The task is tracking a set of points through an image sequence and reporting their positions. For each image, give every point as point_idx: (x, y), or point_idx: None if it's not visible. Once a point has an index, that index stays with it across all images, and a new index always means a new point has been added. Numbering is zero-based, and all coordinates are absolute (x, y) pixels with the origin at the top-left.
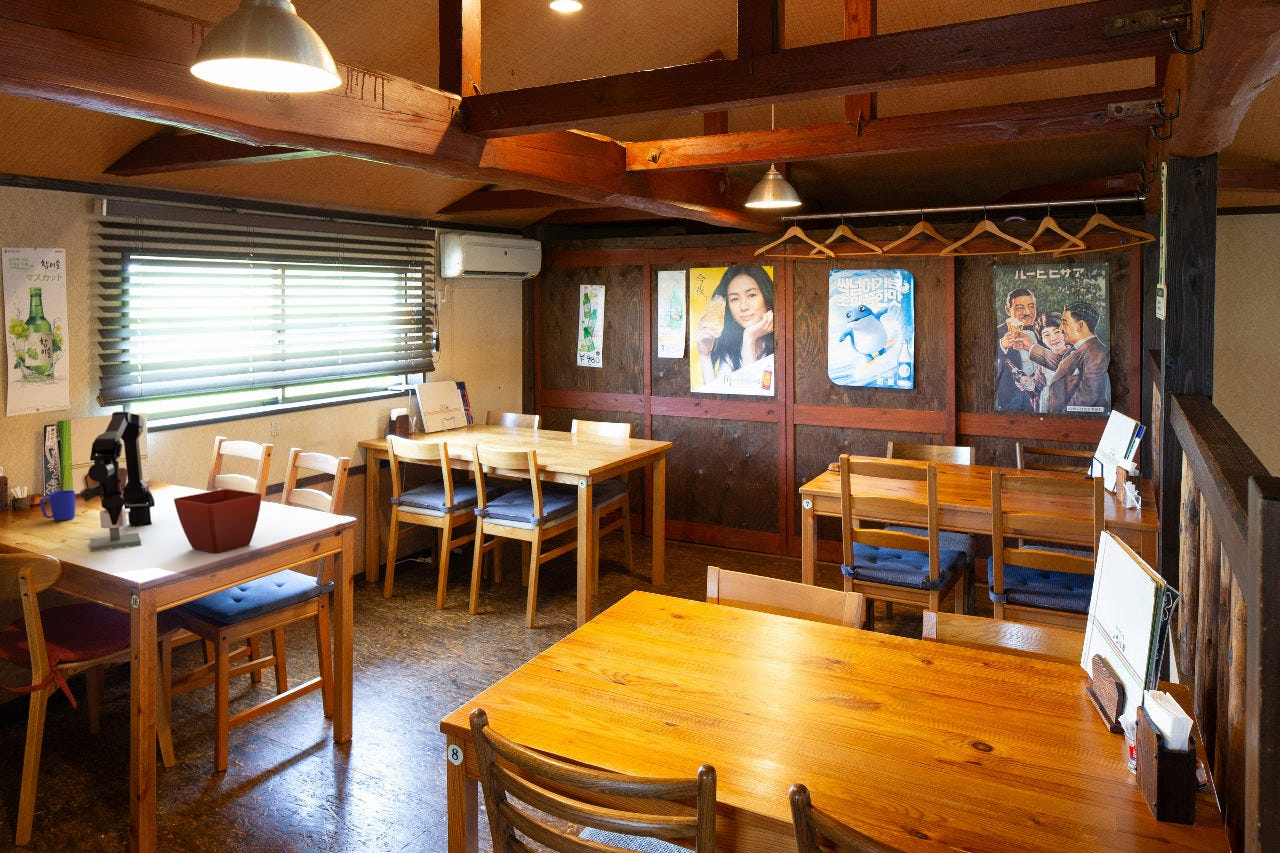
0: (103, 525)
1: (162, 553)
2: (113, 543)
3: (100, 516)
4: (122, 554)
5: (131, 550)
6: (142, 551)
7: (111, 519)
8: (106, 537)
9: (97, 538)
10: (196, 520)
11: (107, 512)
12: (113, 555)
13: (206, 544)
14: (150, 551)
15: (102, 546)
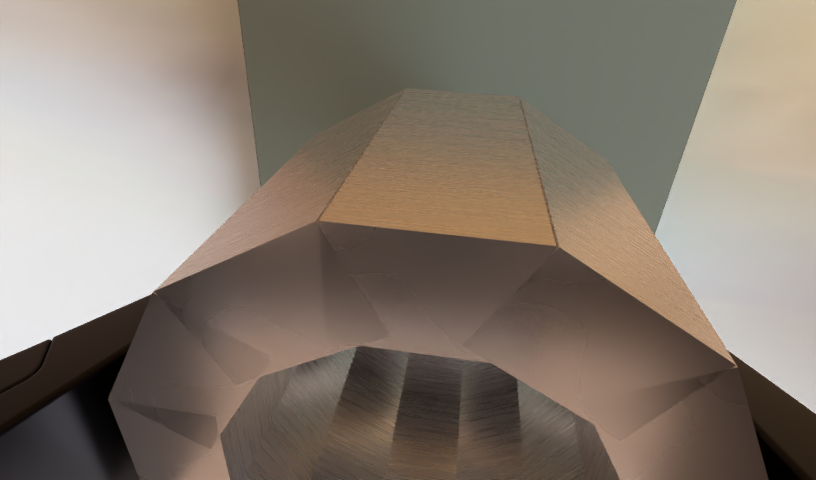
0: (325, 137)
1: (5, 355)
2: (280, 144)
3: (332, 174)
4: (32, 158)
5: (146, 232)
6: (89, 283)
7: (142, 311)
8: (647, 117)
9: (688, 8)
10: None
11: (232, 387)
12: (13, 91)
13: None
14: (74, 319)
15: (248, 28)
